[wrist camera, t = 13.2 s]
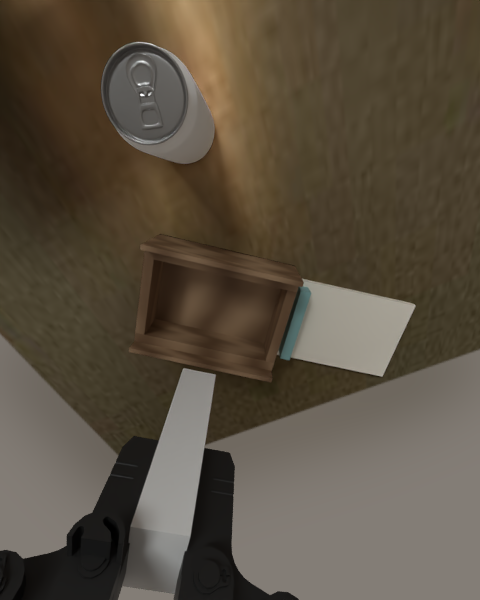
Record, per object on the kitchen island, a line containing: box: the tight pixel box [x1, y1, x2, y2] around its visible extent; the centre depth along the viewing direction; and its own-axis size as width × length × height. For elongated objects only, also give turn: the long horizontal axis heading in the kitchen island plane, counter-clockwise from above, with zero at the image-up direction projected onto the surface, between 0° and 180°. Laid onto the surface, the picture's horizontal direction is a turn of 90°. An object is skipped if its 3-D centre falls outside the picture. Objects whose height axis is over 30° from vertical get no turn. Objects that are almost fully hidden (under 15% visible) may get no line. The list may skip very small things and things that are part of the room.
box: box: [129, 234, 304, 382], centre depth 33 cm, size 16×12×6 cm
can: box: [101, 42, 215, 164], centre depth 25 cm, size 6×6×12 cm
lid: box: [277, 279, 416, 376], centre depth 36 cm, size 15×10×3 cm
